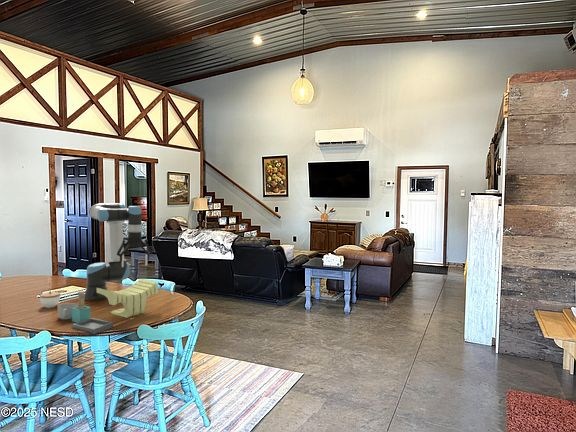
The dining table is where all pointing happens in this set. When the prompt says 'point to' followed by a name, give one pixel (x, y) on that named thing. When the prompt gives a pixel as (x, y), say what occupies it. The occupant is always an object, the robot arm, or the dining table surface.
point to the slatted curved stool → (131, 297)
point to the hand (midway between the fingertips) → (134, 266)
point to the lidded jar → (50, 299)
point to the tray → (93, 325)
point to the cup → (80, 314)
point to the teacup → (66, 310)
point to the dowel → (81, 300)
